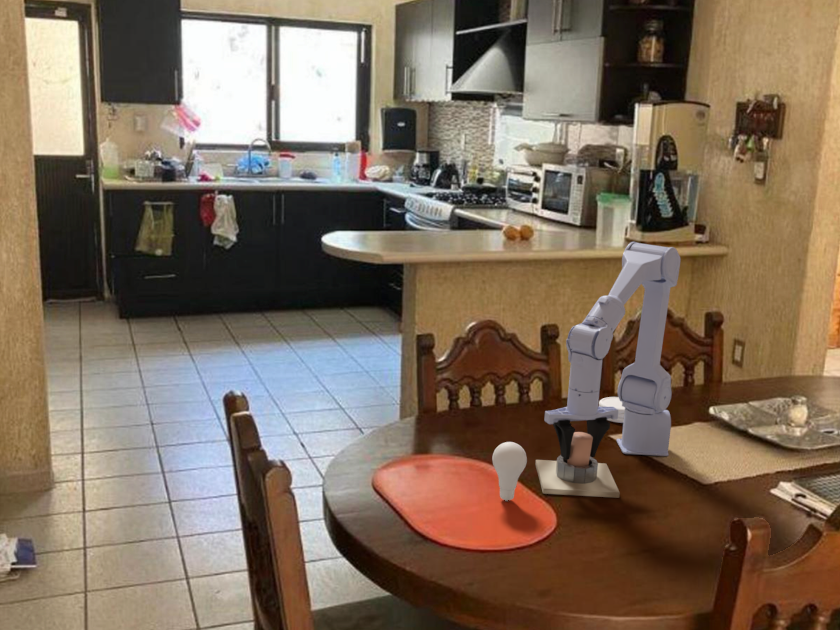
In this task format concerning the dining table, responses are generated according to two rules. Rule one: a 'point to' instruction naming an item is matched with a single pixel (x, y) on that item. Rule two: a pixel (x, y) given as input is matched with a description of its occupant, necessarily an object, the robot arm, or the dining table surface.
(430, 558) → the dining table surface
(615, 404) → the coaster
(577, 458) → the peg
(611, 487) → the socket board
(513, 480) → the lightbulb
